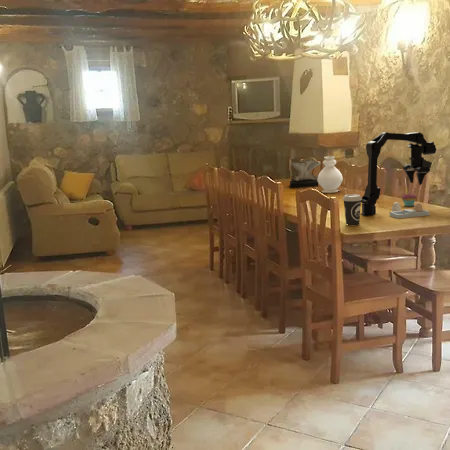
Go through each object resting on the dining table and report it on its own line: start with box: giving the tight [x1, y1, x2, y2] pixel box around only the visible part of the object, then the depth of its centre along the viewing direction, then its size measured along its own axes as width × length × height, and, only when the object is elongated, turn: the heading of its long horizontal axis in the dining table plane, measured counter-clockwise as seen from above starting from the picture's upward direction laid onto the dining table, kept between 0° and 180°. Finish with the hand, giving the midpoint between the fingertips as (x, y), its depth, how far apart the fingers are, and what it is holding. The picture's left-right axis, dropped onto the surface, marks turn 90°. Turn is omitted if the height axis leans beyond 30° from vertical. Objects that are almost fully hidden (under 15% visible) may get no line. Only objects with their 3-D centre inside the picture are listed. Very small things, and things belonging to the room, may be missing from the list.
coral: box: [289, 159, 322, 189], centre depth 417 cm, size 25×20×22 cm
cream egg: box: [391, 201, 402, 212], centre depth 293 cm, size 5×5×6 cm
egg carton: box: [389, 208, 430, 219], centre depth 282 cm, size 18×8×3 cm, turn 101°
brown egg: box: [413, 202, 424, 212], centre depth 282 cm, size 5×5×6 cm
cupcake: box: [401, 186, 418, 207], centre depth 312 cm, size 9×8×12 cm
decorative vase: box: [317, 155, 344, 194], centre depth 383 cm, size 18×18×25 cm
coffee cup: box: [342, 193, 362, 226], centre depth 270 cm, size 10×10×15 cm
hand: (416, 183), depth 296 cm, fingers open, 9 cm apart
